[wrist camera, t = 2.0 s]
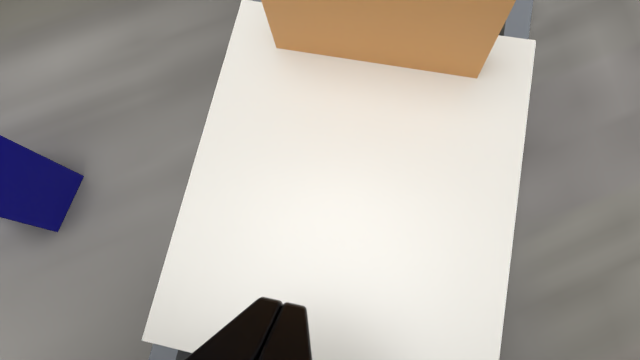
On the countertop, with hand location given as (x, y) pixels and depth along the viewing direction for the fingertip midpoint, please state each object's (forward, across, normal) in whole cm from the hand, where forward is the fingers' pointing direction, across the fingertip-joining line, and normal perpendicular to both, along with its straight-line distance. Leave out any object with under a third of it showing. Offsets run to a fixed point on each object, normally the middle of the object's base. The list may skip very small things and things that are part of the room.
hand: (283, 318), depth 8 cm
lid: (+10, 0, +3) cm, 10 cm away
